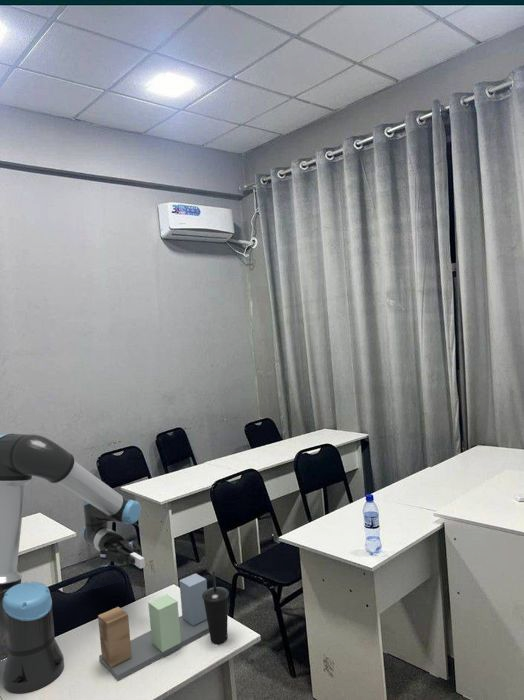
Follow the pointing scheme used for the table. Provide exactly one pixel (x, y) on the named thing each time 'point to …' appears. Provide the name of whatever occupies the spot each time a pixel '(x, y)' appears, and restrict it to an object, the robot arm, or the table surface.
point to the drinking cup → (216, 612)
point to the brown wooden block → (114, 636)
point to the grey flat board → (154, 649)
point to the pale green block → (164, 622)
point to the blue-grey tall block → (193, 598)
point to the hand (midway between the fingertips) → (142, 563)
